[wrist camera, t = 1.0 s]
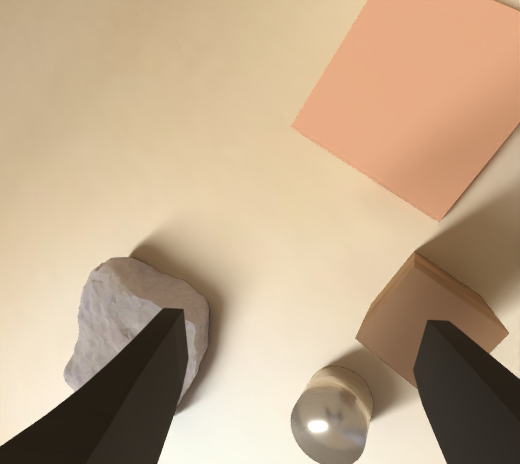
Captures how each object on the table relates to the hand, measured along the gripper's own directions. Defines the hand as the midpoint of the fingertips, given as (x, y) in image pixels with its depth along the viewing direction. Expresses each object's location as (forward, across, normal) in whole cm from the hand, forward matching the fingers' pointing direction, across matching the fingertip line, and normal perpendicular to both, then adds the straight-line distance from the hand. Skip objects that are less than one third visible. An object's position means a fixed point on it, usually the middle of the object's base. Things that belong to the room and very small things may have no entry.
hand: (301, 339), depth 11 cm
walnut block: (+8, -8, +4) cm, 12 cm away
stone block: (+13, +10, +13) cm, 21 cm away
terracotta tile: (+13, -6, -6) cm, 16 cm away
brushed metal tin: (+7, -4, +11) cm, 14 cm away
